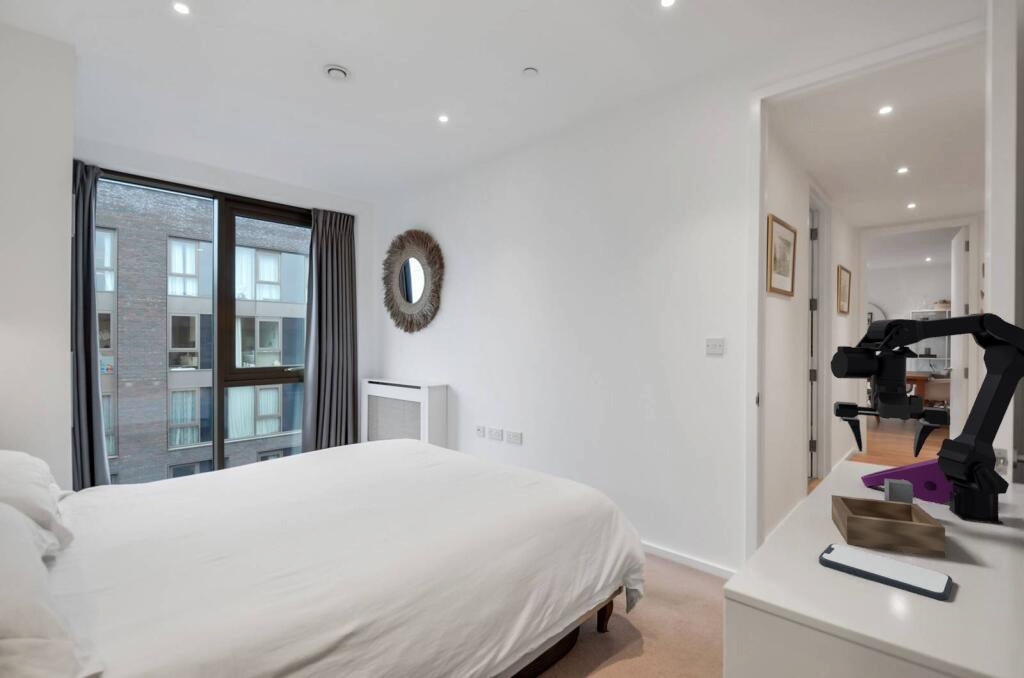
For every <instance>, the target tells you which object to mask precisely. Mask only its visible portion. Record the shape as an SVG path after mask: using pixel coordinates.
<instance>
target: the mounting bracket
mask: <svg viewBox="0 0 1024 678" xmlns="http://www.w3.org/2000/svg"><path fill="white" fill-rule="evenodd" d="M860 479H861V481H862V483H863V485H864V487H871V486H878V485H883V484H884V479H896V480H907V481H909V482H910V483H911V484H913V494H914V495H915V497H917V498H918V499H919V500H921V501H925V502H928V503H933V502H934V504H938V503H939V505H940V504H944V503H946V502H948V501H950V491H953V483H952V482H948V481H946V478H945V476H944V473H943V472H942V470H941V469H940V467H939V465H938V457H937V458H933V459H928V460H924V461H920V462H915V463H911V464H905V465H902V466H896V467H892V468H887V469H884V470H879V471H875V472H871V473H868V474H866V475H865V474H864V475H862V476H861V477H860ZM884 485H885V484H884Z"/></svg>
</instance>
